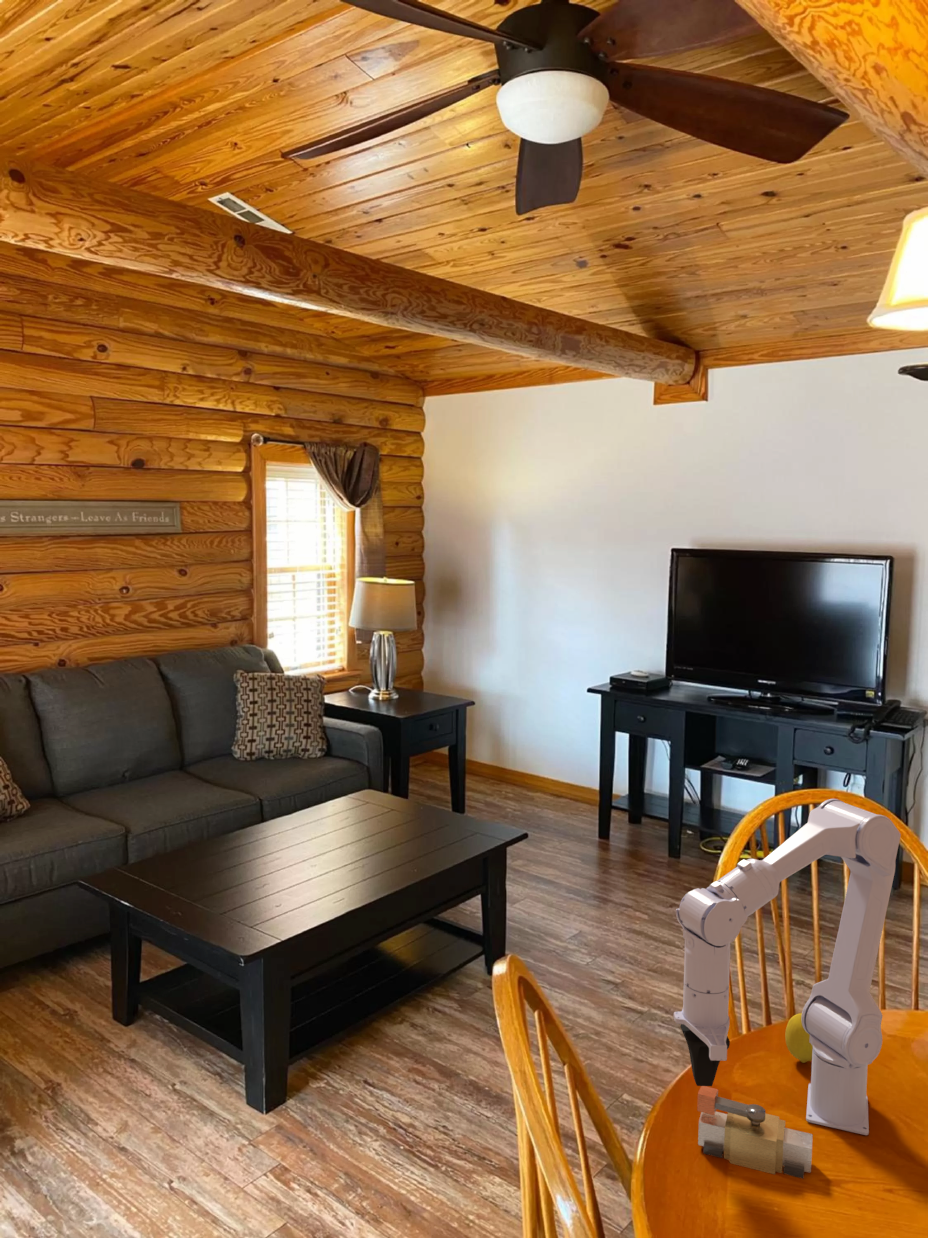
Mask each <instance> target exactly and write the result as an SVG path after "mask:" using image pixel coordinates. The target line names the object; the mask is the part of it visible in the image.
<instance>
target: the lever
mask: <svg viewBox="0 0 928 1238" xmlns="http://www.w3.org/2000/svg"><path fill="white" fill-rule="evenodd" d="M696 1110H697V1112H700V1113H701V1112H703V1113H707V1114H710V1115H715V1112H717V1110H719V1111H723V1112H727V1113H728V1112H729V1113H732V1114H736V1115H740V1116H743V1117H747V1118H748V1119H749V1120H750V1121H752V1122H756V1123H761V1122H764V1121H765V1113H766V1109H765V1108H764V1107H763V1106H761V1105H759V1104H755V1103H751V1104H747V1103H743V1102H739V1101H736V1100H732V1099H728V1098H725V1097H721V1096H719V1089H717V1088H713V1087H712V1086H700V1088H699V1090H698V1092H697V1109H696Z"/></svg>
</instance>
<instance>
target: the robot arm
mask: <svg viewBox="0 0 928 1238" xmlns="http://www.w3.org/2000/svg"><path fill="white" fill-rule="evenodd" d="M901 835H902V834H901V832H900V831H899V829H898V828H897V827H896V825H895V824H894V822H893V821H892V820H891V819H890V818H889V817H887V816H886V815H882V814H876V813H874V812H871V811H868V810H866V809H863V808H861V807H857V806H855V805H851V804H849V803H845V802H844V801H842V800H840V799H838V798H830V799H829V798H828V799H826V800H824V801H823V802H821V803H820V804H819V806H817V807H815V808H813V809H811V810H810V812H809V814H808V818H807V823H805V824H804V825H802V826H801V828H799V829H798V830H797V831H796V832H794V833H793V834H792V835H791V836H790V837H788V838H787V839H786V840H785V841H783V842H782V843H781V844H780V845H779V846H777V847H776V848H775V849H774V850H772V852H769V854H768V855H767V856H766V857H764V858H763V859H760V860H759V859H756V858H748V859H745V858H743V859H742V860H740V861H739V862H738V863H737V864H736V867H735V868H733V869H732V870H730V871H729V872H727V873H726V874H725V875H723V876H722V877H720V878H719V879H717V880H715V881H713V882H712V883H710V884H709V886H707V887H706V888H704V887H700V888H699V887H698V888H694V889H692V890H690V891H688V892H686V893H685V895H684V896H683V897H682V899H681V900H680V903H679V907H678V908H676V909H675V916H676V920H677V921H678V923H679V925H680V926H681V928H682V938H683V939H684V958H683V959H684V964H683V995H682V996H683V997H682V1000H683V1002H682V1009H681V1011H674V1012H673V1019H674V1023H676V1024H678V1025H680V1028H681V1031H682V1034H683V1037H684V1039H685V1041H686V1045H687V1049H688V1054H689V1059H690V1064H691V1072H692V1076H693V1080H694V1082H695V1085H696V1086H697V1087H701V1086H707V1087H712V1086H713V1083H714V1082H715V1078H716V1075H717V1071H718V1068H719V1064H720V1062H721V1061H722V1062H724V1061H727V1059H728V1049H729V1048H730V1044H731V1042H730V1041H731V1040H730V1038H729V1036H728V1034H729V1033H728V1032H729V1029H730V1016H729V1003H730V1002H729V1001H730V1000H729V999H730V965H731V960H730V959H731V943H733V942H734V941H735V940H736V938H737V937H738V935H739V934H740V932H741V929H742V927H743V926H744V924H745V923H747V920H748V917H749V916H751V915H753V914H754V913H755V912H758V910H759V909H762V908H763V906H765V905H766V904H768V903H769V902H770V901H772V900H774V899H775V898H776V897H777V896H778V895H779V891H780V890H779V889H780V883H781V882H782V881H784V880H785V879H787V878H789V877H791V876H793V874H795V873H797V872H799V871H801V870H802V869H804V868H806V867H807V866H809V865H810V864H813V863H814V862H815V861H817V860H819V859H820V858H822V857H823V856H833V857H839V858H841V859H842V860H843V862H844V863H845V864H846V866H847V868H848V869H849V871H850V873H849V874H850V875H849V879H848V882H847V887H846V888H847V889H846V892H845V898H844V903H843V905H842V906H843V907H842V912H841V916H840V917H841V918H840V919H839V920H840V922H839V926H838V931H837V935H836V939H835V944H834V949H833V954H832V959H831V962H830V963H831V964H830V967H829V973H828V978H827V979H824V980H821V981H819V982H816V983H814V984H813V985H812V989H811V993H810V996H809V997H808V999H807V1001H806V1002H805V1004H804V1005H803V1008H802V1011H801V1013H802V1016H801V1021H802V1026H803V1028H804V1030H805V1031H806V1032H807V1033H808V1034H810V1037H809V1042H810V1043H811V1044H812V1047H813V1049H812V1061H811V1073H810V1074H811V1076H810V1082H809V1083H808V1085H807V1086H808V1088H807V1099H806V1100H807V1101H806V1103H807V1104H806V1115H805V1120H806V1121H807V1122H808V1123H810V1124H816V1125H821V1126H825V1127H827V1128H828V1127H829V1128H831V1129H838V1130H842V1131H846V1132H850V1133H855V1134H860V1135H863V1136H868V1135H869V1133H870V1130H869V1129H870V1127H869V1126H870V1125H869V1104H868V1103H869V1101H868V1100H869V1098H868V1095H867V1084H868V1065H871V1064H872V1063H873V1062H874V1061H875V1059H877V1057H878V1056H879V1054H880V1052H881V1049H882V1045H883V1034H882V1021H883V1013H882V1011H881V1009H880V1007H879V1006H878V1004H877V1003H876V1001H875V999H874V997H873V996H872V994H871V987H872V985H871V984H872V981H873V976H874V973H875V972H874V971H875V966H876V962H877V957H878V952H879V948H880V944H881V939H882V934H883V929H884V925H885V919H886V915H887V910H888V906H889V900H890V895H891V891H892V886H893V881H894V878H895V877H894V876H895V873H896V859H897V854H898V851H899V850H898V849H899V846H900V840H901Z"/></svg>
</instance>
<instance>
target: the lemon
mask: <svg viewBox="0 0 928 1238" xmlns="http://www.w3.org/2000/svg"><path fill="white" fill-rule="evenodd" d="M801 1016H802V1012H799V1013H797V1014H794V1015H792V1017H790V1019H788V1022H787V1023H786V1024H787V1025H786V1028H785V1034H784V1035H785V1036H784V1037H785V1038H784V1039H785V1044H786V1047H787V1050H788V1051H789V1052H790V1054H791V1055H792V1056H793V1057H794V1058H795V1059H797V1060H799V1061H800V1062H801V1063H802V1064H805V1063H807V1062H812V1049H813V1047H812V1044H811V1043H810V1042H809V1037H810V1034H808V1033H807V1032H806V1031H805V1030H804V1028H803V1026H802V1021H801Z"/></svg>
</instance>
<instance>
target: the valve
mask: <svg viewBox="0 0 928 1238" xmlns="http://www.w3.org/2000/svg"><path fill="white" fill-rule="evenodd" d="M699 1116H700V1117H699V1119H698V1133H697V1134H698V1137H697V1140H698V1141H697V1144H698V1146H701V1147H703V1154H705V1155H709V1156H712V1157H717V1158H720V1159H724V1160H728V1161H729V1164H732V1165H737V1166H740V1167H742V1168H743V1167H745V1168H748V1169H751V1170H756V1171H759V1172H764V1173H768V1174H771V1175H776V1173H780V1174H783V1175H787V1176H792V1177H795V1178H799V1179H804V1178H805V1172H806V1173H810V1174H811V1172H812V1161H813V1160H812V1158H813V1136H814V1135H813V1134H812V1133H809V1132H805V1131H800V1130H797V1129H792V1128H788V1127H786V1120H783V1119H780V1116H778V1115H773V1114H769V1113H766V1112H765V1121H764V1122H761V1123H756V1122H752V1121H750V1120H749V1119H748V1118H747V1117H743V1116H740V1115H736V1114H732V1113H729V1112H727V1113H724V1112H720V1111H716V1112H715V1115H710V1114H707V1113H703V1112H700V1115H699Z"/></svg>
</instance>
